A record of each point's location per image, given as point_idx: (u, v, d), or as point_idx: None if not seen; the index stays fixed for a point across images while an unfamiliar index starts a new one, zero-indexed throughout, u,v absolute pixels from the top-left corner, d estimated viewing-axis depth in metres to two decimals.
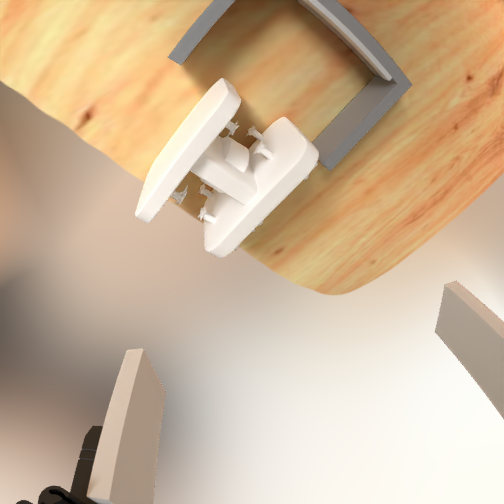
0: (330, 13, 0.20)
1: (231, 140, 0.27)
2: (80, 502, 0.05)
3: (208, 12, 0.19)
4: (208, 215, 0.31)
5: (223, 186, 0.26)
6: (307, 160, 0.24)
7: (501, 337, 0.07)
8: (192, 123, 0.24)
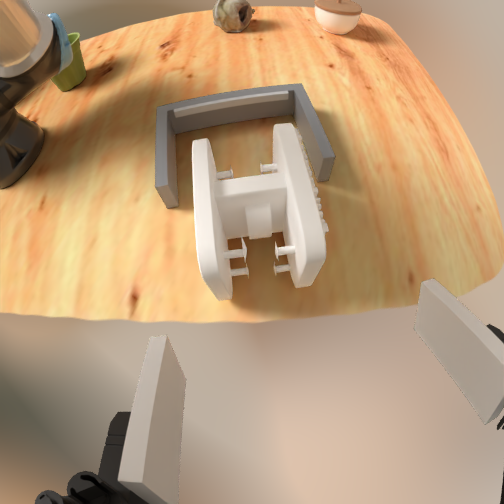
0: (219, 101, 0.38)
1: None
2: (112, 489, 0.05)
3: (158, 150, 0.34)
4: None
5: (253, 187, 0.25)
6: (283, 125, 0.27)
7: (475, 335, 0.08)
8: None
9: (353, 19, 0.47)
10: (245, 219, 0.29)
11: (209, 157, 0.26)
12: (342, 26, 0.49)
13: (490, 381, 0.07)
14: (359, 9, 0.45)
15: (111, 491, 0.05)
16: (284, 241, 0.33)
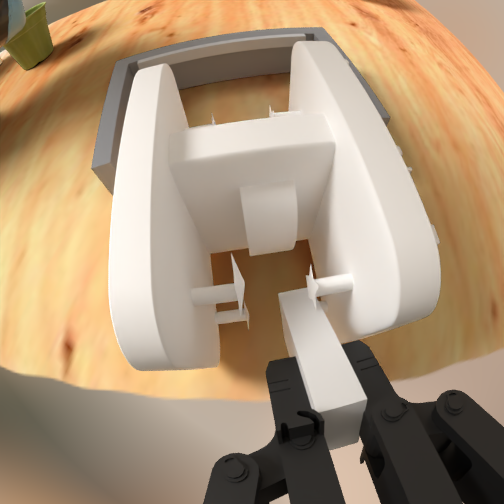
0: (203, 46, 0.23)
1: None
2: (323, 430, 0.07)
3: (105, 114, 0.20)
4: (327, 277, 0.11)
5: (257, 140, 0.10)
6: (311, 41, 0.12)
7: (319, 350, 0.09)
8: None
9: None
10: (241, 216, 0.14)
11: (164, 88, 0.11)
12: None
13: None
14: None
15: (320, 432, 0.07)
16: (313, 257, 0.18)
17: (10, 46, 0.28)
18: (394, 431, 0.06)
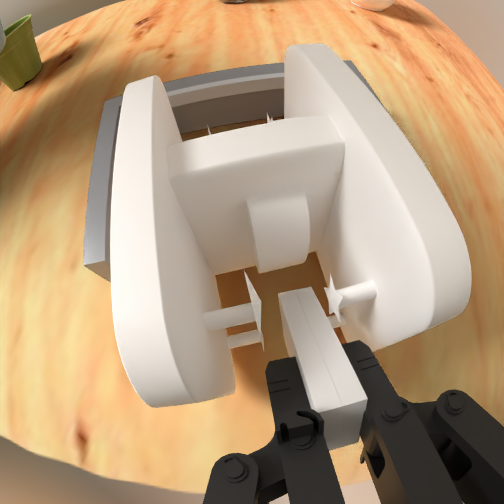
0: (210, 85, 0.20)
1: None
2: (323, 430, 0.07)
3: (93, 183, 0.17)
4: (348, 287, 0.10)
5: (263, 146, 0.10)
6: (304, 44, 0.12)
7: (320, 350, 0.09)
8: None
9: None
10: (248, 232, 0.13)
11: (157, 99, 0.11)
12: None
13: None
14: None
15: (320, 432, 0.07)
16: (323, 269, 0.17)
17: None
18: (395, 431, 0.06)
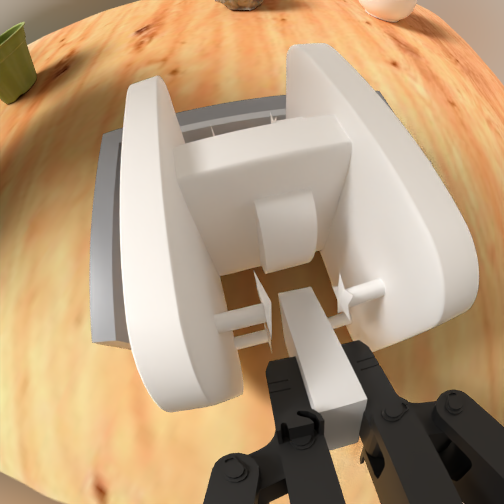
0: (224, 119, 0.19)
1: None
2: (323, 429, 0.07)
3: (95, 243, 0.15)
4: (357, 285, 0.10)
5: (271, 146, 0.10)
6: None
7: (319, 350, 0.09)
8: None
9: (411, 2, 0.28)
10: (254, 232, 0.13)
11: (162, 100, 0.10)
12: (397, 10, 0.30)
13: None
14: None
15: (320, 432, 0.07)
16: (328, 268, 0.17)
17: None
18: (394, 431, 0.06)
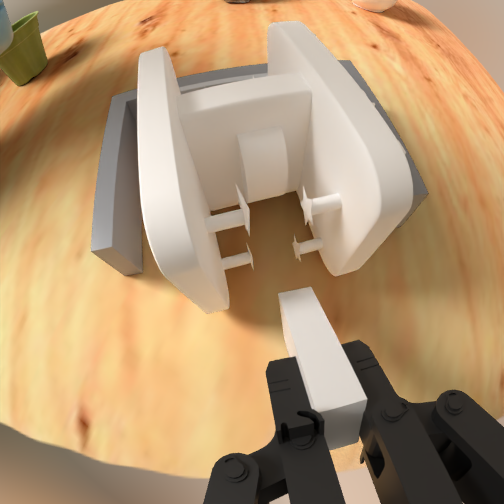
0: (214, 82, 0.21)
1: None
2: (323, 429, 0.07)
3: (101, 174, 0.18)
4: (318, 198, 0.13)
5: (249, 93, 0.12)
6: None
7: (320, 350, 0.09)
8: None
9: None
10: (238, 165, 0.16)
11: (167, 63, 0.13)
12: (380, 1, 0.32)
13: None
14: None
15: (320, 432, 0.07)
16: None
17: (0, 61, 0.26)
18: (394, 431, 0.06)
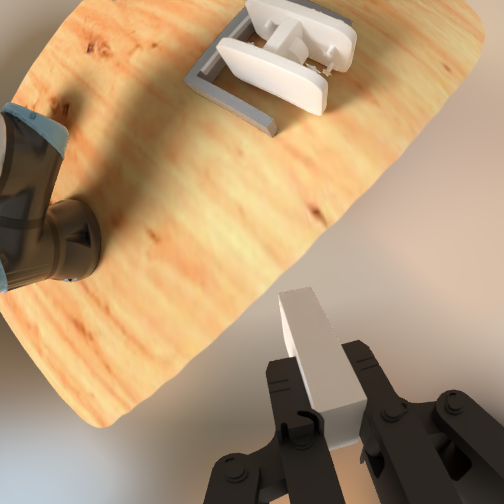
0: None
1: None
2: (323, 430, 0.07)
3: (233, 104, 0.35)
4: (328, 50, 0.29)
5: (284, 34, 0.27)
6: None
7: (319, 350, 0.09)
8: (247, 66, 0.31)
9: None
10: (289, 59, 0.32)
11: (242, 42, 0.28)
12: None
13: None
14: None
15: (320, 432, 0.07)
16: (311, 57, 0.35)
17: None
18: (394, 431, 0.06)
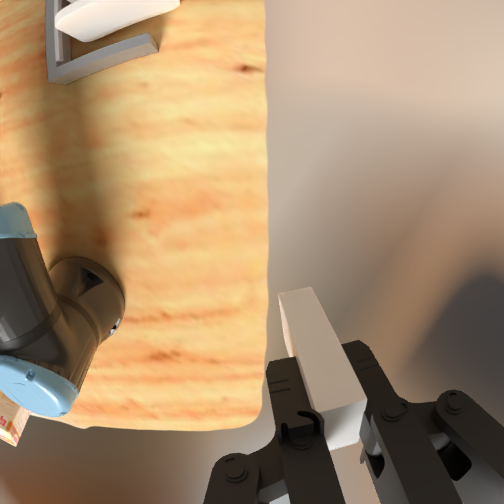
0: (54, 24, 0.23)
1: None
2: (323, 430, 0.07)
3: (106, 54, 0.27)
4: None
5: None
6: None
7: (319, 350, 0.09)
8: (93, 17, 0.22)
9: None
10: None
11: None
12: None
13: None
14: None
15: (320, 432, 0.07)
16: None
17: None
18: (394, 431, 0.06)
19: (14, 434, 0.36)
